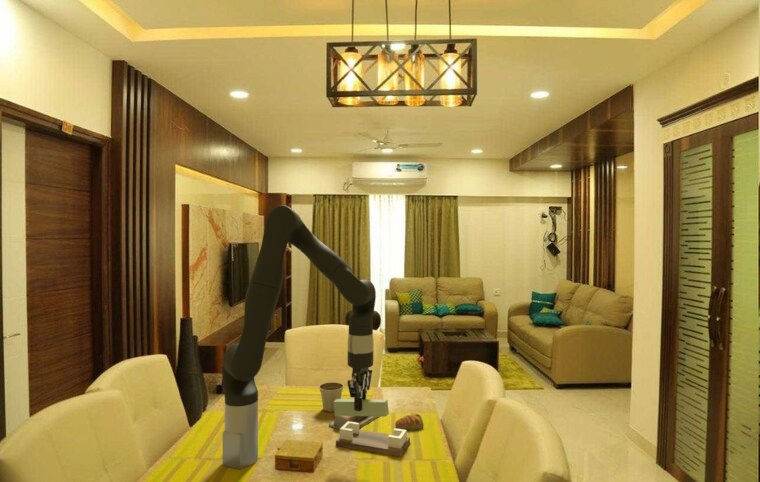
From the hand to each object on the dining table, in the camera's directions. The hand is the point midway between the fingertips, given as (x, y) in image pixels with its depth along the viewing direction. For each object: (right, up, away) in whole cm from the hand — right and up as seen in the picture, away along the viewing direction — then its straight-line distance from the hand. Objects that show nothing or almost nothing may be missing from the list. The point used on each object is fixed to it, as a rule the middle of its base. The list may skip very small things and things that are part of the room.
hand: (360, 408), depth 133 cm
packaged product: (-3, -15, +29) cm, 33 cm away
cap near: (+11, -13, +8) cm, 19 cm away
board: (+4, -15, +10) cm, 19 cm away
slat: (0, -2, 0) cm, 2 cm away
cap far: (-4, -13, +13) cm, 19 cm away
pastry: (+16, -15, +24) cm, 33 cm away
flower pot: (-13, -15, +40) cm, 44 cm away
